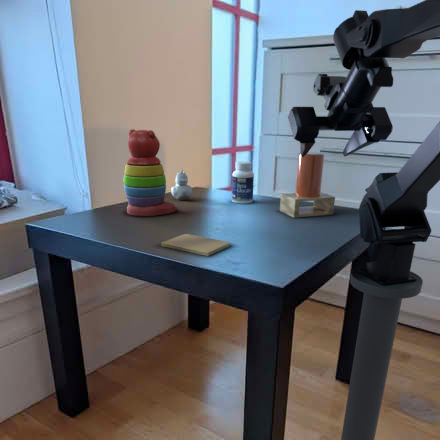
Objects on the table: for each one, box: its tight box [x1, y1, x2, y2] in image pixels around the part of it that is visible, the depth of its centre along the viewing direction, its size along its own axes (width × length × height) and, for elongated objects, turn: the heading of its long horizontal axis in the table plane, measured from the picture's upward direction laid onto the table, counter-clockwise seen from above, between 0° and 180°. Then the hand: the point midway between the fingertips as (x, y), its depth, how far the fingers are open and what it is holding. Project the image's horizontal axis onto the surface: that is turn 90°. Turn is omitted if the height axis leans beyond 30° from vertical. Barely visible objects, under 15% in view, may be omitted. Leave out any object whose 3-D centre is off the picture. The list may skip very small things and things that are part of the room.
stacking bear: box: [123, 128, 177, 217], centre depth 93 cm, size 11×10×18 cm
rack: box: [279, 191, 336, 219], centre depth 95 cm, size 7×10×4 cm
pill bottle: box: [231, 160, 255, 205], centre depth 105 cm, size 5×5×10 cm
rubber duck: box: [170, 168, 193, 201], centre depth 109 cm, size 5×7×8 cm
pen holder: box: [294, 152, 325, 198], centre depth 93 cm, size 6×6×9 cm
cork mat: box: [160, 233, 232, 257], centre depth 73 cm, size 10×7×1 cm
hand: (323, 154), depth 84 cm, fingers open, 9 cm apart
